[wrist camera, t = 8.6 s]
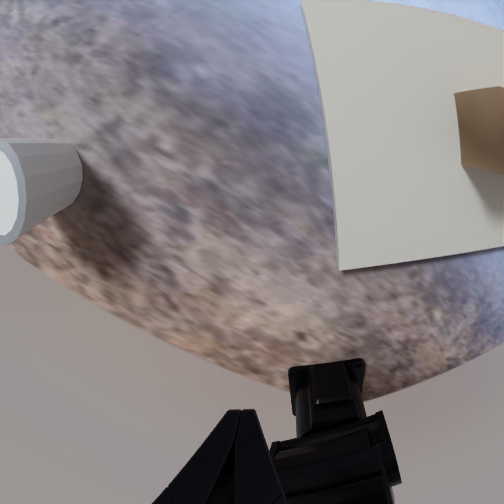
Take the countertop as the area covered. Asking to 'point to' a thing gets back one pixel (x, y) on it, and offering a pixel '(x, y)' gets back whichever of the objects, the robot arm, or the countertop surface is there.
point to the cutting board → (403, 129)
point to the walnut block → (481, 128)
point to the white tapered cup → (35, 182)
